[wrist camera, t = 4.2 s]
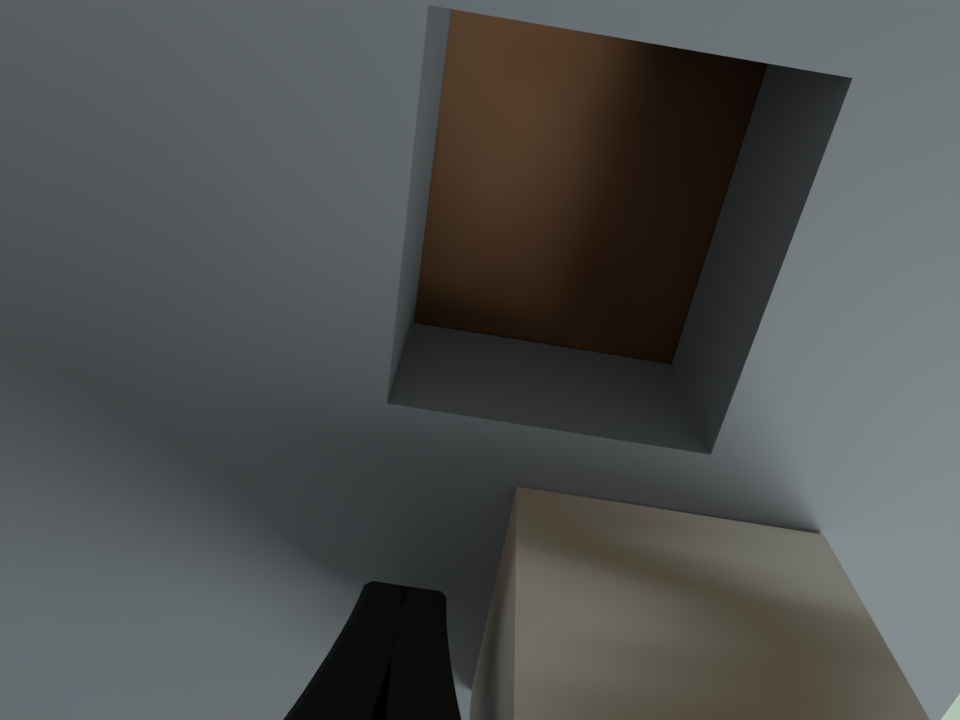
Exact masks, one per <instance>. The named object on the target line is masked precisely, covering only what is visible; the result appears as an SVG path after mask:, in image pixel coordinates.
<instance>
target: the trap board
mask: <svg viewBox="0 0 960 720" xmlns="http://www.w3.org/2000/svg"><path fill="white" fill-rule="evenodd" d="M451 9H454V10H460V11H466V12H472V13H478V14H483V15H489V16H495V17H501V18H507V19H512V20H518V21H524V22H530V23H536V24H541V25H547V26H553V27H559V28H565V29H570V30H576V31H582V32H588V33H594V34H600V35H605V36H611V37H617V38H623V39H629V40H634V41H640V42H646V43H652V44H658V45H663V46H669V47H675V48H681V49H687V50H692V51H698V52H704V53H710V54H716V55H721V56H727V57H733V58H739V59H745V60H750V61H756V62H762V63H768V65H767V68H766V71H765V75H764V78H763V81H762V84H761V87H760V90H759V93H758V96H757V99H756V103H755V106H754V109H753V112H752V115H751V118H750V121H749V124H748V128H747V131H746V134H745V137H744V140H743V143H742V146H741V149H740V153H739V156H738V159H737V162H736V165H735V168H734V171H733V174H732V177H731V181H730V184H729V187H728V190H727V193H726V196H725V199H724V202H723V206H722V209H721V212H720V215H719V218H718V221H717V224H716V227H715V230H714V234H713V237H712V240H711V243H710V246H709V249H708V252H707V255H706V259H705V262H704V265H703V268H702V271H701V274H700V277H699V280H698V284H697V287H696V290H695V293H694V296H693V299H692V302H691V305H690V308H689V312H688V315H687V318H686V321H685V324H684V327H683V330H682V333H681V337H680V340H679V343H678V346H677V349H676V352H675V355H674V358H673V362H672V364H667V363H661V362H654V361H648V360H642V359H636V358H629V357H623V356H617V355H611V354H605V353H598V352H592V351H586V350H580V349H573V348H567V347H561V346H555V345H549V344H542V343H536V342H530V341H524V340H518V339H511V338H505V337H499V336H493V335H486V334H480V333H474V332H468V331H462V330H455V329H449V328H443V327H437V326H430V325H424V324H418V323H414V319H415V310H416V302H417V293H418V285H419V276H420V268H421V260H422V251H423V243H424V234H425V226H426V217H427V209H428V201H429V192H430V184H431V175H432V167H433V158H434V150H435V142H436V133H437V125H438V116H439V108H440V99H441V91H442V83H443V74H444V66H445V57H446V49H447V40H448V32H449V24H450V15H451ZM517 486H519V487H526V488H532V489H538V490H545V491H551V492H557V493H564V494H570V495H576V496H583V497H589V498H595V499H602V500H608V501H614V502H621V503H627V504H633V505H640V506H646V507H652V508H659V509H665V510H671V511H678V512H684V513H690V514H697V515H703V516H709V517H716V518H722V519H728V520H735V521H741V522H747V523H754V524H760V525H766V526H773V527H779V528H785V529H792V530H798V531H804V532H811V533H817V534H823V535H824V536H825V538H826V539H827V541H828V543H829V545H830V546H831V548H832V550H833V552H834V553H835V555H836V557H837V559H838V560H839V562H840V564H841V566H842V567H843V569H844V571H845V573H846V574H847V576H848V578H849V580H850V581H851V583H852V585H853V587H854V588H855V590H856V592H857V594H858V595H859V597H860V599H861V601H862V602H863V604H864V606H865V608H866V609H867V611H868V613H869V615H870V616H871V618H872V620H873V621H874V623H875V625H876V627H877V628H878V630H879V632H880V634H881V635H882V637H883V639H884V641H885V642H886V644H887V646H888V648H889V649H890V651H891V653H892V655H893V656H894V658H895V660H896V662H897V663H898V665H899V667H900V669H901V670H902V672H903V674H904V676H905V677H906V679H907V681H908V683H909V684H910V686H911V688H912V690H913V691H914V693H915V695H916V697H917V698H918V700H919V702H920V704H921V705H922V707H923V709H924V711H925V712H926V714H927V716H928V718H929V719H930V720H960V0H0V720H283V719H284V718H285V716H286V715H287V714H288V712H289V711H290V710H291V708H292V707H293V706H294V704H295V703H296V701H297V700H298V698H299V697H300V696H301V694H302V693H303V691H304V690H305V688H306V687H307V685H308V683H309V682H310V680H311V679H312V677H313V676H314V674H315V673H316V671H317V670H318V668H319V667H320V665H321V664H322V662H323V661H324V659H325V658H326V656H327V654H328V653H329V651H330V649H331V648H332V646H333V644H334V643H335V641H336V639H337V638H338V636H339V634H340V633H341V631H342V629H343V627H344V626H345V624H346V622H347V620H348V618H349V616H350V614H351V613H352V611H353V609H354V606H355V604H356V602H357V600H358V598H359V596H360V594H361V591H362V589H363V586H364V585H365V584H367V583H369V582H370V581H376V582H383V583H390V584H396V585H403V586H410V587H416V588H423V589H430V590H436V591H441V592H442V593H443V594H444V595H445V596H446V597H447V604H446V615H447V635H448V645H449V653H450V660H451V667H452V674H453V680H454V686H455V691H456V696H457V701H458V706H459V711H460V716H461V720H469V715H470V702H471V690H472V685H473V681H474V676H475V672H476V667H477V663H478V658H479V654H480V649H481V645H482V640H483V636H484V631H485V627H486V622H487V618H488V613H489V609H490V604H491V600H492V595H493V591H494V586H495V582H496V578H497V573H498V569H499V564H500V560H501V555H502V551H503V546H504V542H505V537H506V533H507V528H508V524H509V519H510V515H511V510H512V506H513V501H514V497H515V492H516V488H517Z"/></svg>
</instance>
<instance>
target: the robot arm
mask: <svg viewBox="0 0 960 720" xmlns="http://www.w3.org/2000/svg"><path fill="white" fill-rule="evenodd" d="M446 604H447V597H446V596H445V595H444V594H443V593H442V592H441V591H436V590H430V589H423V588H416V587H410V586H403V585H396V584H390V583H383V582H376V581H370V582H369V583H367V584H365V585H364V586H363V589H362V591H361V594H360V596H359V598H358V600H357V602H356V604H355V606H354V609H353V611H352V613H351V614H350V616H349V618H348V620H347V622H346V624H345V626H344V627H343V629H342V631H341V633H340V634H339V636H338V638H337V639H336V641H335V643H334V644H333V646H332V648H331V649H330V651H329V653H328V654H327V656H326V658H325V659H324V661H323V662H322V664H321V665H320V667H319V668H318V670H317V671H316V673H315V674H314V676H313V677H312V679H311V680H310V682H309V683H308V685H307V687H306V688H305V690H304V691H303V693H302V694H301V696H300V697H299V698H298V700H297V701H296V703H295V704H294V706H293V707H292V708H291V710H290V711H289V712H288V714H287V715H286V716H285V718H284V719H283V720H461V716H460V711H459V706H458V701H457V696H456V691H455V686H454V680H453V674H452V667H451V660H450V653H449V645H448V635H447V615H446Z"/></svg>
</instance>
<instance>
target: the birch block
mask: <svg viewBox="0 0 960 720" xmlns="http://www.w3.org/2000/svg"><path fill="white" fill-rule="evenodd" d="M469 720H930V719H929V718H928V716H927V714H926V712H925V711H924V709H923V707H922V705H921V704H920V702H919V700H918V698H917V697H916V695H915V693H914V691H913V690H912V688H911V686H910V684H909V683H908V681H907V679H906V677H905V676H904V674H903V672H902V670H901V669H900V667H899V665H898V663H897V662H896V660H895V658H894V656H893V655H892V653H891V651H890V649H889V648H888V646H887V644H886V642H885V641H884V639H883V637H882V635H881V634H880V632H879V630H878V628H877V627H876V625H875V623H874V621H873V620H872V618H871V616H870V615H869V613H868V611H867V609H866V608H865V606H864V604H863V602H862V601H861V599H860V597H859V595H858V594H857V592H856V590H855V588H854V587H853V585H852V583H851V581H850V580H849V578H848V576H847V574H846V573H845V571H844V569H843V567H842V566H841V564H840V562H839V560H838V559H837V557H836V555H835V553H834V552H833V550H832V548H831V546H830V545H829V543H828V541H827V539H826V538H825V536H824V535H823V534H817V533H811V532H804V531H798V530H792V529H785V528H779V527H773V526H766V525H760V524H754V523H747V522H741V521H735V520H728V519H722V518H716V517H709V516H703V515H697V514H690V513H684V512H678V511H671V510H665V509H659V508H652V507H646V506H640V505H633V504H627V503H621V502H614V501H608V500H602V499H595V498H589V497H583V496H576V495H570V494H564V493H557V492H551V491H545V490H538V489H532V488H526V487H519V486H517V488H516V492H515V497H514V501H513V506H512V510H511V515H510V519H509V524H508V528H507V533H506V537H505V542H504V546H503V551H502V555H501V560H500V564H499V569H498V573H497V578H496V582H495V586H494V591H493V595H492V600H491V604H490V609H489V613H488V618H487V622H486V627H485V631H484V636H483V640H482V645H481V649H480V654H479V658H478V663H477V667H476V672H475V676H474V681H473V685H472V690H471V702H470V715H469Z"/></svg>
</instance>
